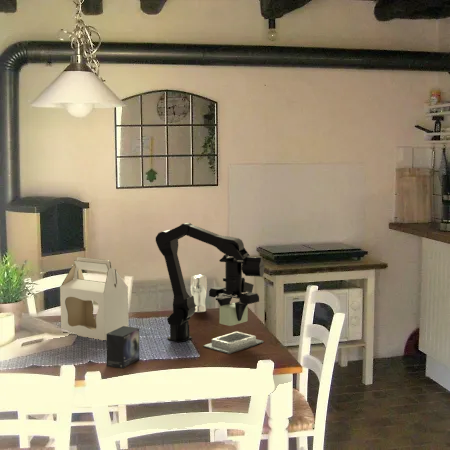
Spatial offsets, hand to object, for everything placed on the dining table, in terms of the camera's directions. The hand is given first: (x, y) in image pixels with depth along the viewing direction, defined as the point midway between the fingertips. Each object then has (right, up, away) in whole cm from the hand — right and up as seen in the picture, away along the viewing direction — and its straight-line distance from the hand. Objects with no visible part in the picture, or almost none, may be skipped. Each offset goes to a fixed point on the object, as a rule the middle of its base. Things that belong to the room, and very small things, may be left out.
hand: (233, 319), depth 216 cm
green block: (0, -1, 0) cm, 1 cm away
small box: (-35, -11, -18) cm, 41 cm away
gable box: (-52, -8, +17) cm, 55 cm away
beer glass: (-14, -4, +50) cm, 52 cm away
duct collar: (0, -9, +1) cm, 9 cm away
